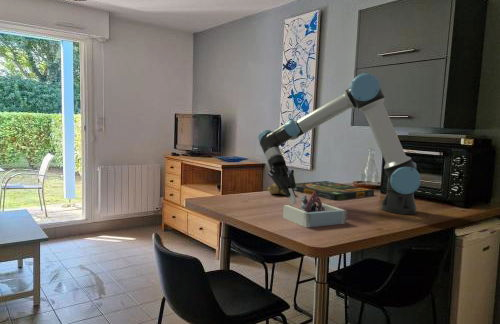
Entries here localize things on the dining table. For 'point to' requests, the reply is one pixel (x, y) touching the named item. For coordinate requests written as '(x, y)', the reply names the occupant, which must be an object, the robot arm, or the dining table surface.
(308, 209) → the brake caliper
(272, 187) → the ginger root
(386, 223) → the dining table surface
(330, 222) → the cradle
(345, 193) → the pizza box
